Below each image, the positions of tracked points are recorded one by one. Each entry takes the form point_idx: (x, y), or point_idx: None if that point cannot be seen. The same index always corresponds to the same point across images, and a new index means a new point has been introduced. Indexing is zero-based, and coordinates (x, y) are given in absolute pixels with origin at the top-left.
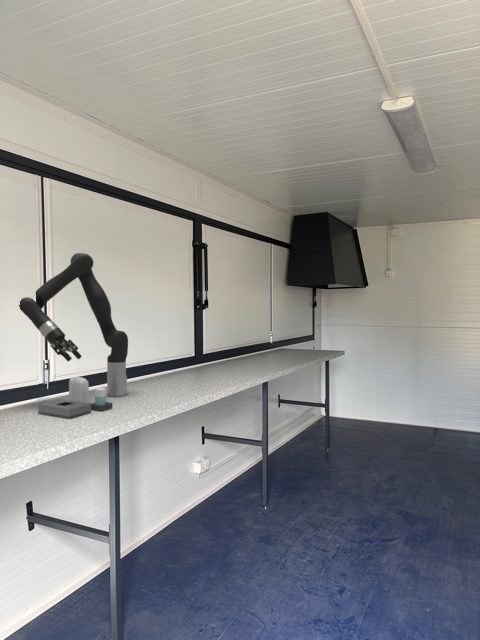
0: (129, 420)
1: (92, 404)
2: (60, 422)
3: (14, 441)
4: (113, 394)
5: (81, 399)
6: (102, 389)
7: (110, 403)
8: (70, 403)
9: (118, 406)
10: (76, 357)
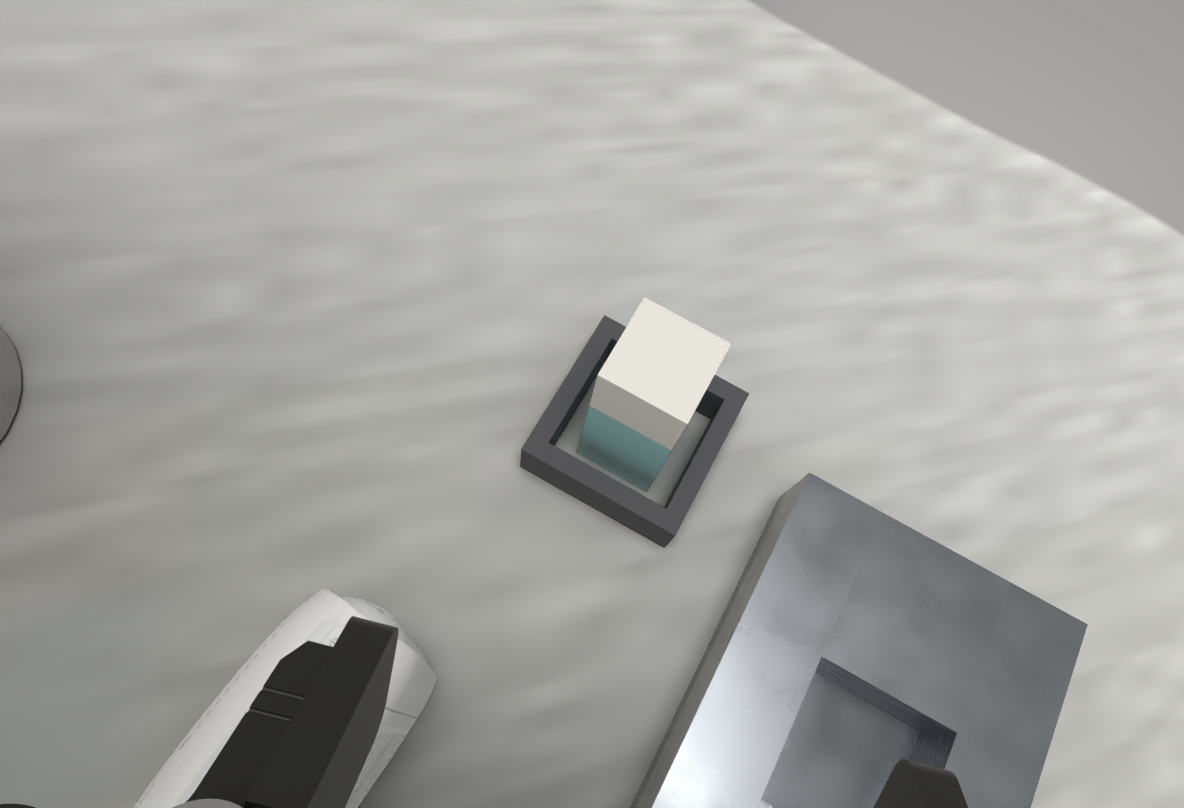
0: (989, 161)
1: (688, 494)
2: (1154, 686)
3: None
4: (2, 405)
5: (429, 687)
6: (687, 335)
7: None
8: (793, 716)
9: (517, 298)
10: (356, 779)
